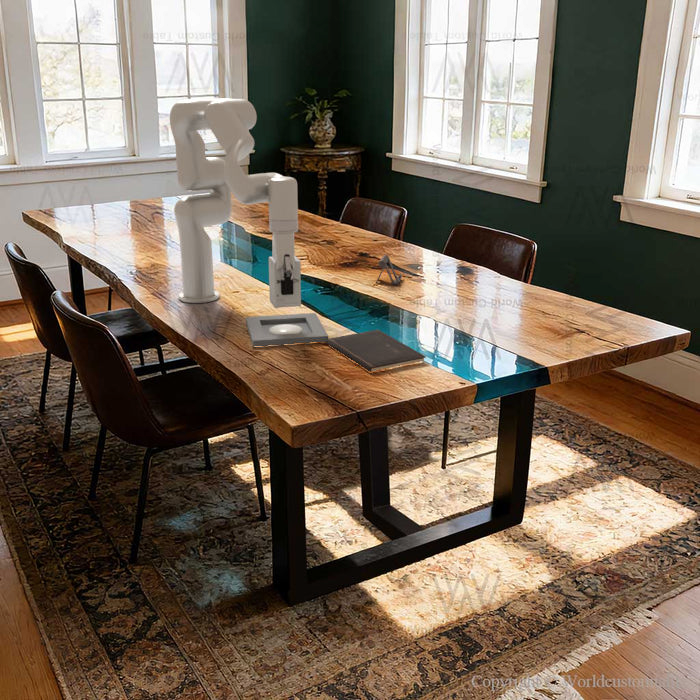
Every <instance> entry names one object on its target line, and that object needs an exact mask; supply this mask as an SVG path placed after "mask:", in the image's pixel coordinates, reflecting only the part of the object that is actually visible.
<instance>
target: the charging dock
mask: <svg viewBox="0 0 700 700" xmlns="http://www.w3.org/2000/svg"><path fill="white" fill-rule="evenodd" d="M246 325H247V326H246ZM245 326H246V329H247V328H248V329H247V331H248V335H250V336H249V339H250V338H251V339H250V342H252V343H251V345H253V346H252V348H253V347H254V346H268V345H284V344H294V343H310V342H327V340H328V339H329V335H328V332H327V331H326V329H325V327H324V326H323V324H322V322H321V320H320V318H319V317H318V315H317V313H316V312H314V313H313V312H311V313H294V314H291V313H290V314H277V315H276V314H275V315H258V316H245Z"/></svg>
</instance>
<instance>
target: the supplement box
mask: <svg viewBox="0 0 700 700" xmlns="http://www.w3.org/2000/svg"><path fill="white" fill-rule="evenodd" d="M284 261H285V260H284ZM290 264H291V263H290ZM282 267H283V268H286V267H285V262H284V264H283V266H282ZM292 267H293V265H292ZM301 269H302V267H301V260H300V259H299V258H298V257H297V256H296V255H295V266H294V269H293V270H292V275H293V294H292V295H282V294H281V280H282V271H281V269H279V271H277V270H276V262H275V260H274V258H273V257H272V256H269V257H268V280H269V281H268V284H269V285H268V286H269V287H268V288H269V289H268V290H269V302H270V303H271V305H272V306H273V308H274V309H278V308H289V307H290V308H291V307H293V308H294V307H301V306H302V291H301V290H302V288H301V283H302V282H301V279H302V278H301V273H302V271H301ZM285 272H286V271H284V273H285Z"/></svg>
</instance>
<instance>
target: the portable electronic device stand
mask: <svg viewBox="0 0 700 700" xmlns="http://www.w3.org/2000/svg"><path fill="white" fill-rule="evenodd" d="M387 262H388V264H389V266H390V269H391V271H392V274H393V276H394V278H393V277H392V274H391V271H390V269H389V267H388V265H387ZM378 267H380V268H382V269H381V271H380V273H379V275H378V276H377V279H376V282H375V284H377V283H378V281H379V280H380V278H381V276H382V273H383V271H384V269H386V272H387V275H388V277H389V279H390V281H391V284H392V285H393V286H394V287H397V286H398V285H399V283H400V282H401V280H402V278H403V277H402V273H399V275H397V274H396V271H395V270H394V266H393V264H392V261H391V259H390V257H389V255H387V254H384V255H383V256H382V257H381V258H380V260H379V261H378Z"/></svg>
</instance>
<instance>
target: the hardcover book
mask: <svg viewBox="0 0 700 700" xmlns="http://www.w3.org/2000/svg"><path fill="white" fill-rule="evenodd" d="M327 344H328V345H330V346H331V347H333V348H334V349H336V350H337V351H339V352H340V353H342V354H344V355H345V356H347V357H348V358H350V359H351V360H353V361H355V362H356V363H358V364H359V365H361V366H362V367H364V368H365V369H367V370H368V371H370V372H371V371H376V370H380V369H385V368H390V367H395V366H400V365H404V364H410V363H415V362H420V361H424V362H425V359H426V358H427V355H424V354H422V353H420V352H419V351H417V350H415V349H413V348H412V347H410V346H409V345H406V344H405V343H403V342H401V341H399V340H397V339H396V338H394V337H392V336H390V335H389V334H387V333H385V332H383V331H381V330H380V329H374V330H368V331H364V332H358V333H357V332H356V333H352V334H347V335H342V336H336V337H330V338H329V337H328V340H327V343H326V345H327Z"/></svg>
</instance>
